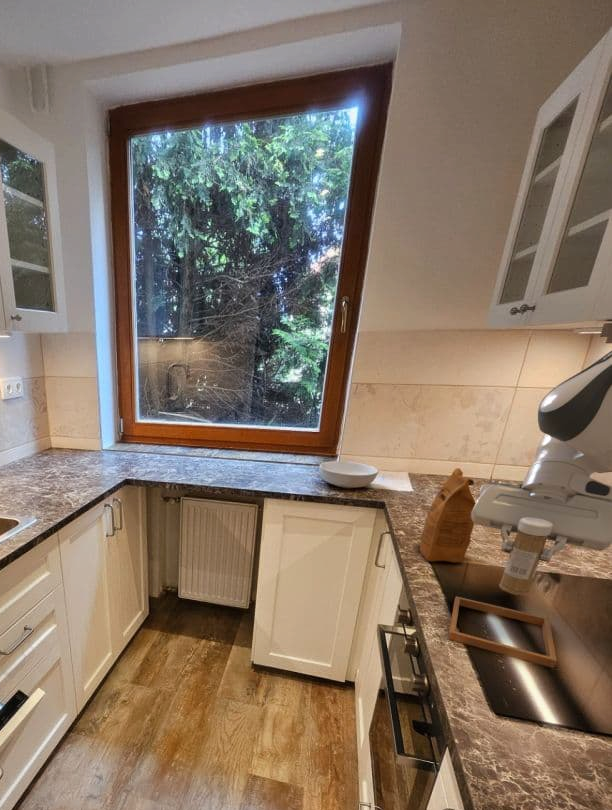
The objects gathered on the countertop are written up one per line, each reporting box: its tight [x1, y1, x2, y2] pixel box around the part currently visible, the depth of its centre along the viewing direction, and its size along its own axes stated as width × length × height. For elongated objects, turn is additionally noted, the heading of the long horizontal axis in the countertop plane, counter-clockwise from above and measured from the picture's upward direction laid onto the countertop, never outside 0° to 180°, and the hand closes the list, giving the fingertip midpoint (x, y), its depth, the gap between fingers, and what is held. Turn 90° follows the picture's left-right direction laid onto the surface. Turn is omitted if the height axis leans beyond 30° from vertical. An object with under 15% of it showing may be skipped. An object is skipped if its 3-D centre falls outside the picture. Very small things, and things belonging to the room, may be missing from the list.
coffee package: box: [419, 467, 476, 563], centre depth 118 cm, size 10×12×22 cm
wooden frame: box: [447, 596, 558, 669], centre depth 89 cm, size 16×16×3 cm
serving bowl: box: [318, 460, 379, 489], centre depth 179 cm, size 21×21×7 cm
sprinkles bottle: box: [498, 517, 553, 596], centre depth 83 cm, size 5×5×14 cm
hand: (525, 555), depth 82 cm, fingers closed on sprinkles bottle, 4 cm apart
